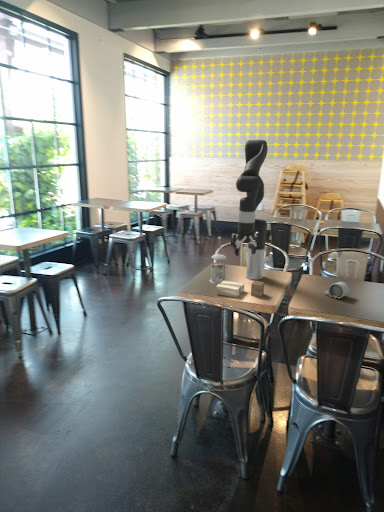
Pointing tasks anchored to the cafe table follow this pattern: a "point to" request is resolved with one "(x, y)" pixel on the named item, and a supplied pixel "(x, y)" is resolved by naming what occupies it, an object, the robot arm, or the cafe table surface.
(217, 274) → the french press
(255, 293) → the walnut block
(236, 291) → the birch base
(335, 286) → the ceramic mug
